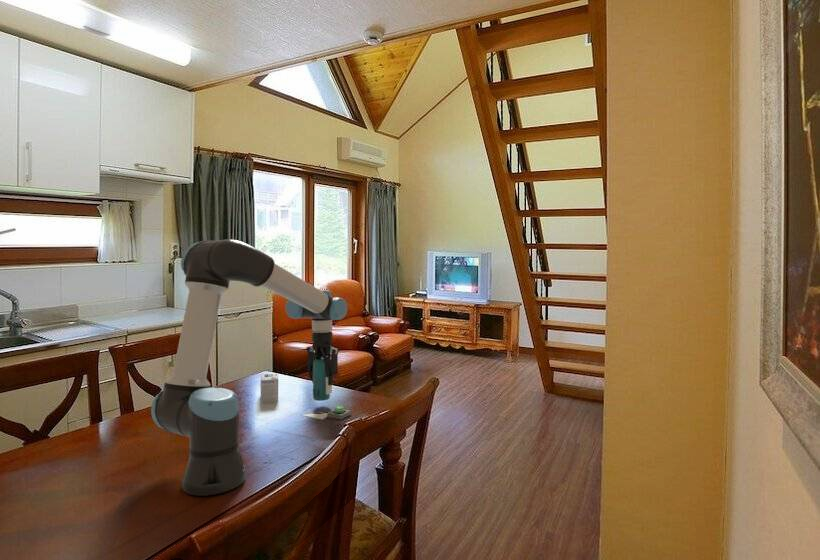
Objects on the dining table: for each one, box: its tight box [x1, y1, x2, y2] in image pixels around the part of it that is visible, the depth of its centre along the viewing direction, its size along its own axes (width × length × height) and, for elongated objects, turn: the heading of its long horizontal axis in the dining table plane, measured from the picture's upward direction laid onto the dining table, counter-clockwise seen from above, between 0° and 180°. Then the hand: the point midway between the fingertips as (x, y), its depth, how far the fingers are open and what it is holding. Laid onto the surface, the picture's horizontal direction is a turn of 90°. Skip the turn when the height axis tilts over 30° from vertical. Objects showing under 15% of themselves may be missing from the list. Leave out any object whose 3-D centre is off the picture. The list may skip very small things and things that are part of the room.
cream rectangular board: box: [302, 413, 328, 420], centre depth 170 cm, size 16×12×1 cm
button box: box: [327, 409, 352, 420], centre depth 164 cm, size 6×6×2 cm
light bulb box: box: [260, 373, 279, 404], centre depth 180 cm, size 11×7×11 cm, turn 17°
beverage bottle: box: [312, 351, 331, 402], centre depth 172 cm, size 6×7×20 cm
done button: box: [333, 405, 345, 413], centre depth 164 cm, size 3×3×2 cm
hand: (322, 392), depth 172 cm, fingers closed on beverage bottle, 5 cm apart
